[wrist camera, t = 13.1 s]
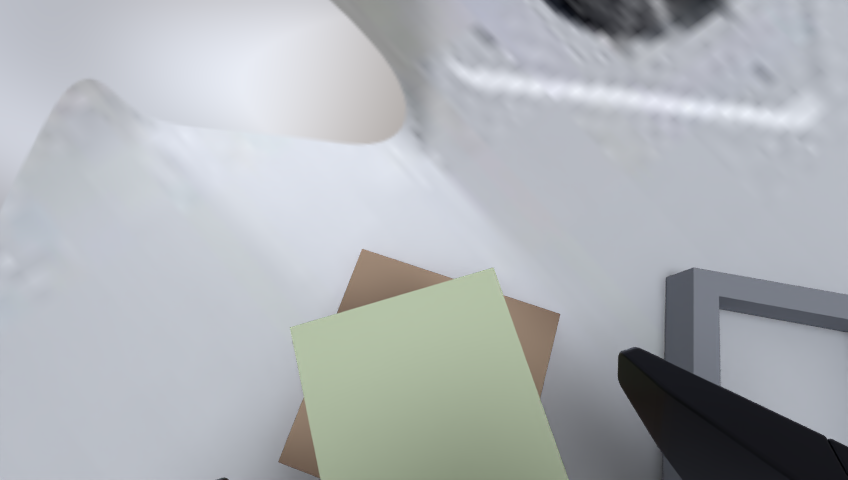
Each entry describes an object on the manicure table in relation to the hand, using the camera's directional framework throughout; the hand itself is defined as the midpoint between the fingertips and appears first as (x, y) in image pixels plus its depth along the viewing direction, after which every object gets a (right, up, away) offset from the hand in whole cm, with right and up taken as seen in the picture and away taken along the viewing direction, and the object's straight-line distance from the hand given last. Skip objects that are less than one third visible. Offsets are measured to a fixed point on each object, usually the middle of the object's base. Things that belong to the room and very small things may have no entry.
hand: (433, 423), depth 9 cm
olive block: (0, -2, +8) cm, 8 cm away
